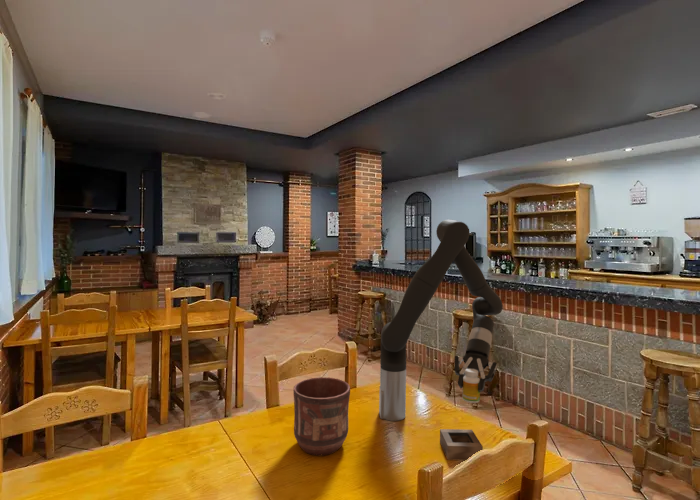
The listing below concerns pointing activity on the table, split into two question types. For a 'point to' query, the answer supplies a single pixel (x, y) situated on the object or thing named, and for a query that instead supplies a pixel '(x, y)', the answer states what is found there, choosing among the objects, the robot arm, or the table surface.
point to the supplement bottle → (471, 386)
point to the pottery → (321, 414)
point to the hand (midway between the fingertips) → (470, 388)
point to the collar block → (459, 443)
